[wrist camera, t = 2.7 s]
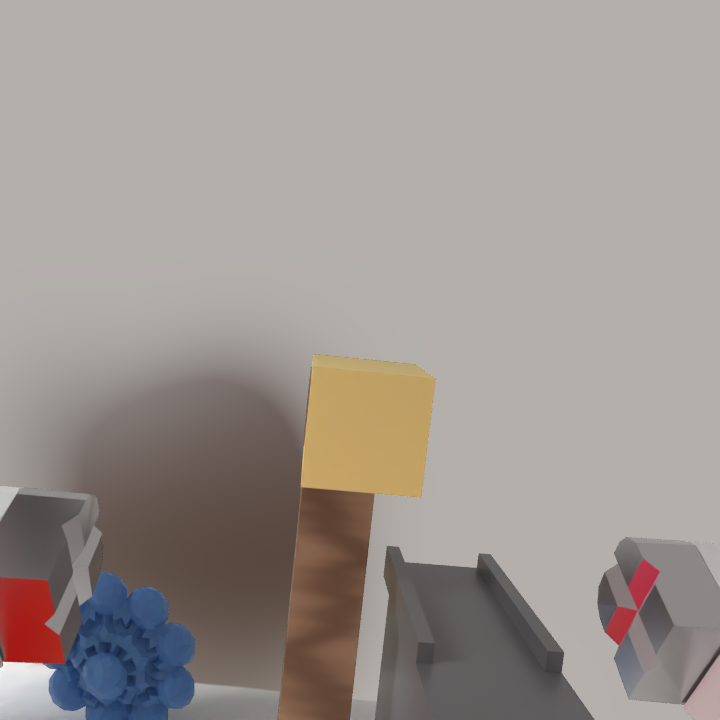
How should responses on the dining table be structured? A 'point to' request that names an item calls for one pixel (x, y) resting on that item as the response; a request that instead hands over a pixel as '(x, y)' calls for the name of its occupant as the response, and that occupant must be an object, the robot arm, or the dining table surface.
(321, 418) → the yellow rectangular bar
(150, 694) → the grapes
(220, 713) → the dining table surface
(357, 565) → the stand
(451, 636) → the cradle
